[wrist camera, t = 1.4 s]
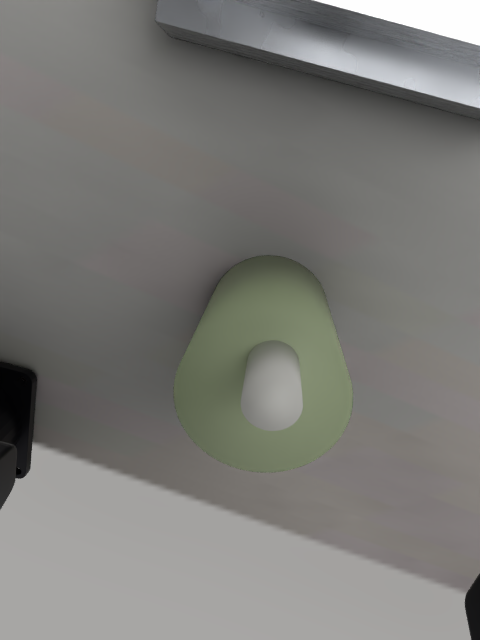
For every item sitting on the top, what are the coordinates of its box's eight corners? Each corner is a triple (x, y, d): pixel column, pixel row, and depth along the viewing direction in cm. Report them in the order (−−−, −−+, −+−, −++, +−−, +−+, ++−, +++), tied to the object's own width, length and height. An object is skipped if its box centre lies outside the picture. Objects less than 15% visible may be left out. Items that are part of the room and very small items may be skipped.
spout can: (307, 376, 19) (326, 546, 11) (200, 348, 19) (139, 498, 11) (343, 273, 18) (400, 384, 9) (225, 241, 18) (174, 325, 9)
